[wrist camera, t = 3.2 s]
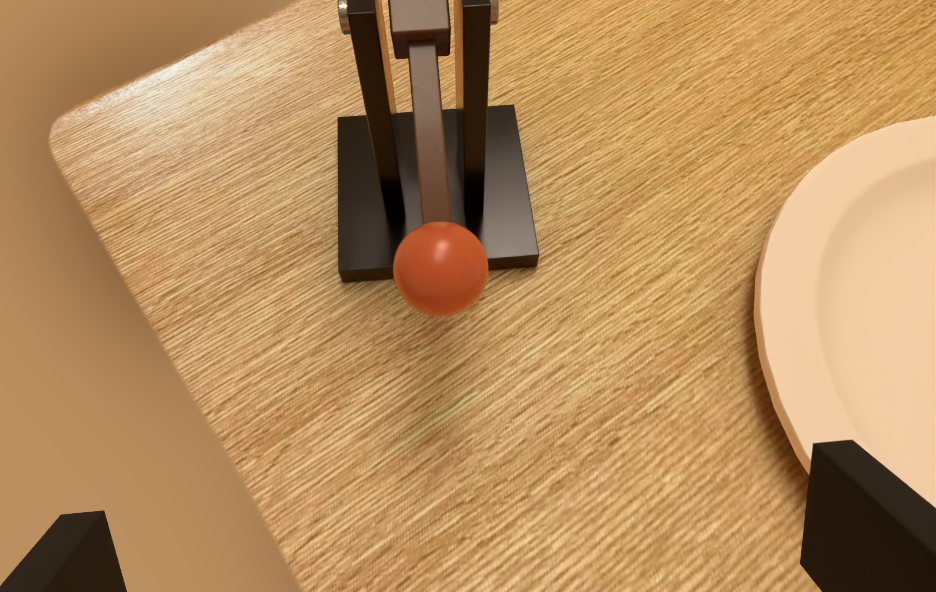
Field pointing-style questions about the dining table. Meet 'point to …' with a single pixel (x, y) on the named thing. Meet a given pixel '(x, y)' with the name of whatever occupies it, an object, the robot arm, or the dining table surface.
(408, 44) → the lever rod
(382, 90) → the rod bracket
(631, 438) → the dining table surface
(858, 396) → the plate
